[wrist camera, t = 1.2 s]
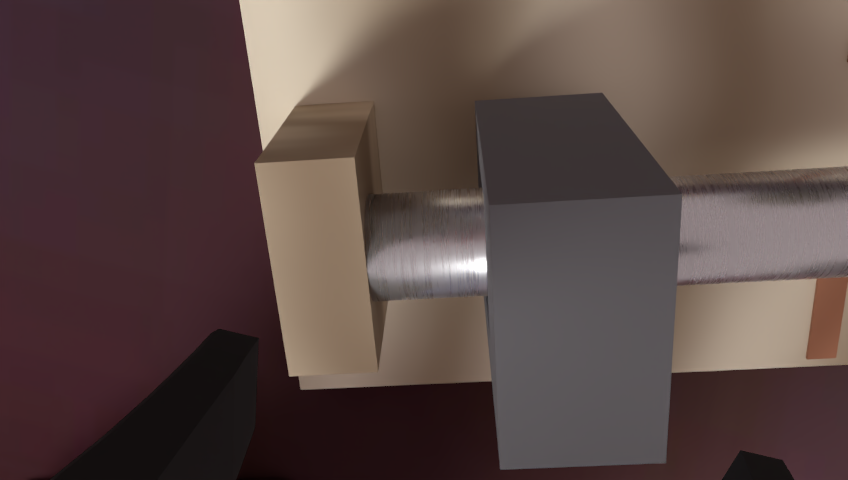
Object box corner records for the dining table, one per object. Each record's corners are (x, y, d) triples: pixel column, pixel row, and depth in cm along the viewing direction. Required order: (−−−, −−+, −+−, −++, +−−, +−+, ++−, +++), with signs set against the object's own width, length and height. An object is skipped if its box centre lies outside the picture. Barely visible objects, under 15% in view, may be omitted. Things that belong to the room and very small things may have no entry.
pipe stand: (305, 371, 24) (268, 500, 19) (243, -41, 20) (170, -17, 14) (1047, 336, 23) (1221, 463, 18) (1170, -110, 19) (1455, -111, 13)
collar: (483, 295, 21) (500, 469, 15) (474, 100, 19) (489, 205, 13) (598, 289, 21) (665, 462, 14) (602, 92, 19) (682, 193, 12)
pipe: (300, 278, 20) (280, 331, 17) (286, 179, 19) (262, 220, 16) (1146, 233, 19) (1250, 283, 16) (1180, 125, 18) (1296, 161, 15)
